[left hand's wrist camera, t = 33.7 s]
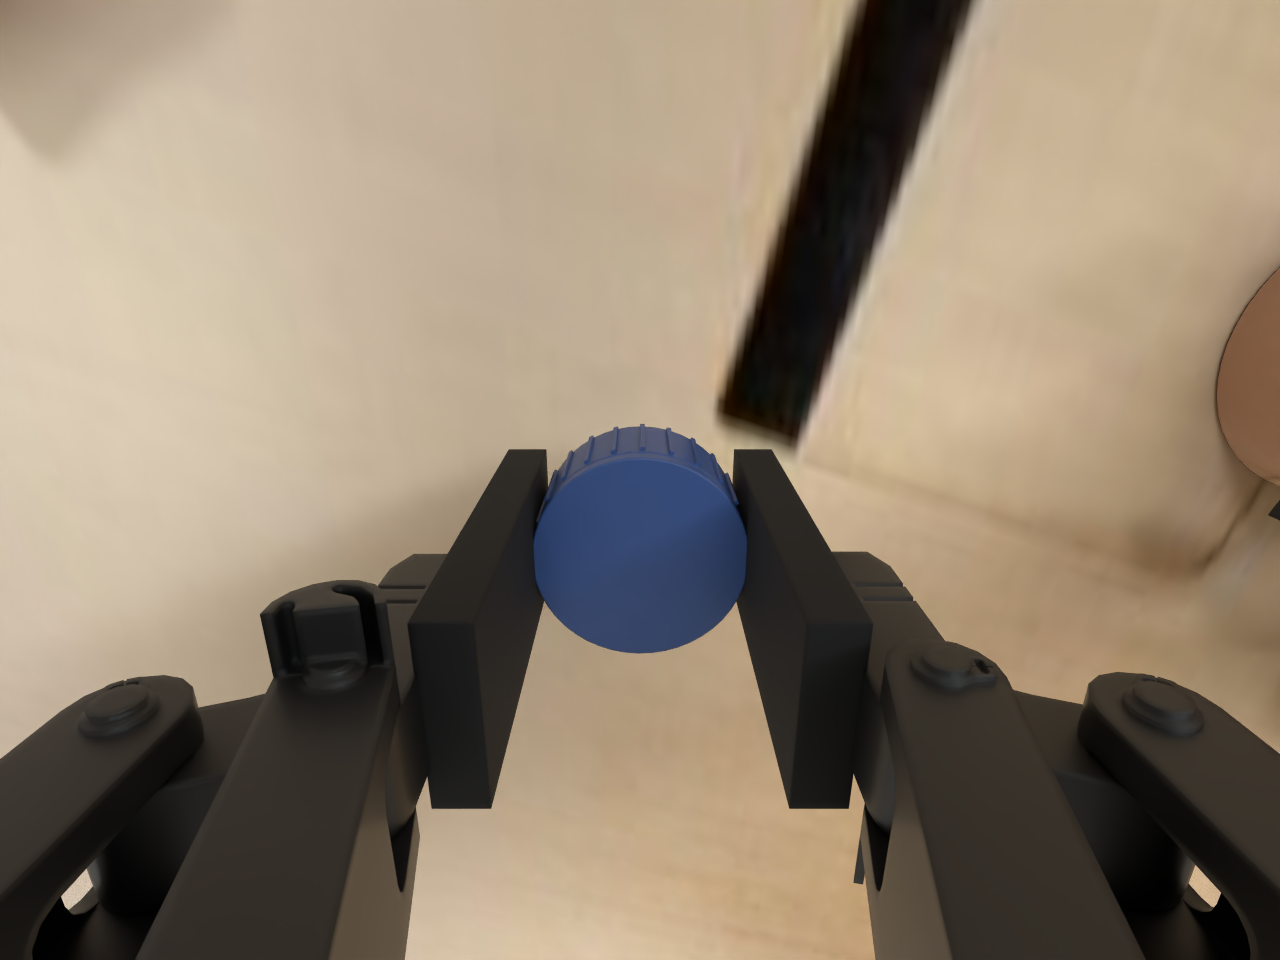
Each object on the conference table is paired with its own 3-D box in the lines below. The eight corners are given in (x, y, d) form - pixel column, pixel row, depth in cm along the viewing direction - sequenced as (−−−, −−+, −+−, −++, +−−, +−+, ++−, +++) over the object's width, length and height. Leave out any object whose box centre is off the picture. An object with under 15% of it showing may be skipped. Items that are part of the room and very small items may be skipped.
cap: (654, 633, 15) (656, 692, 13) (505, 530, 14) (485, 577, 12) (776, 501, 14) (798, 545, 12) (623, 382, 13) (621, 409, 11)
